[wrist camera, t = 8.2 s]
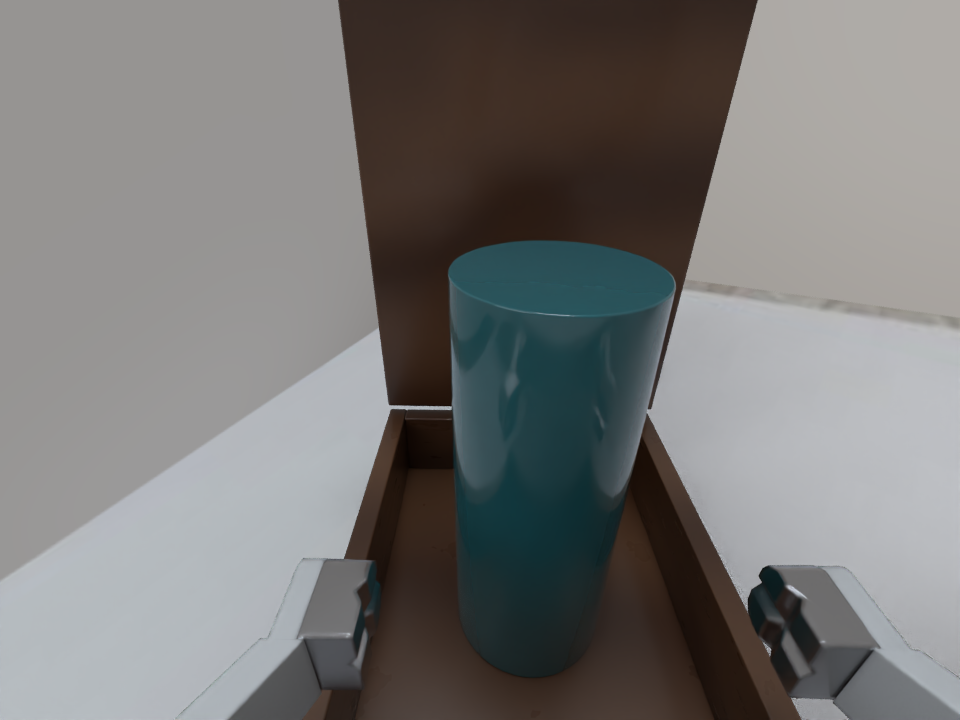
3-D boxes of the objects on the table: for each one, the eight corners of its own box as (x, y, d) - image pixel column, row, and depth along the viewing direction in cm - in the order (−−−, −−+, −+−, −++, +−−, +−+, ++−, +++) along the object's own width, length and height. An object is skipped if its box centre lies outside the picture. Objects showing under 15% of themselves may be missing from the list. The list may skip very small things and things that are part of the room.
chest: (815, 945, 11) (893, 898, 9) (283, 930, 11) (241, 881, 9) (633, 473, 24) (647, 412, 22) (397, 469, 24) (390, 408, 22)
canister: (613, 579, 18) (692, 258, 12) (567, 712, 14) (646, 340, 8) (497, 525, 20) (509, 231, 14) (429, 627, 16) (400, 283, 10)
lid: (770, -43, 13) (701, -14, 17) (331, -45, 13) (369, -15, 17) (651, 410, 22) (625, 355, 26) (388, 406, 22) (404, 352, 26)
